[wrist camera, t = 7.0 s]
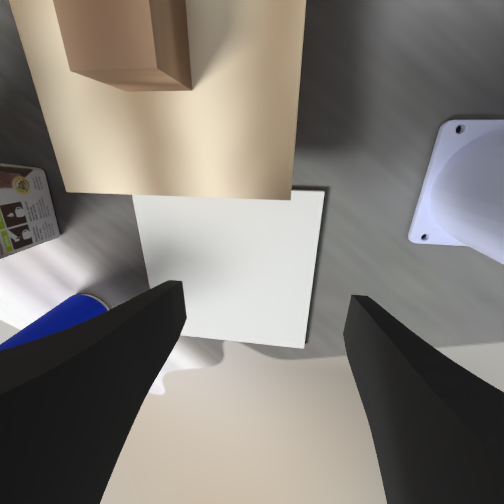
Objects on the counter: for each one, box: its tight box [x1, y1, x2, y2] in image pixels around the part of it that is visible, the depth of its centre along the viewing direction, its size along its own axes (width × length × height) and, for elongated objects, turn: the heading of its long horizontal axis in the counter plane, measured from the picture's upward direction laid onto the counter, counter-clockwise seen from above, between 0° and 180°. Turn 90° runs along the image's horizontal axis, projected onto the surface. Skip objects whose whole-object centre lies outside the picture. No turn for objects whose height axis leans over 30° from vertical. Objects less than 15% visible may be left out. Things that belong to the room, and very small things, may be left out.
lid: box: [9, 0, 306, 200], centre depth 10 cm, size 14×14×4 cm
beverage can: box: [0, 294, 110, 351], centre depth 19 cm, size 5×5×15 cm
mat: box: [132, 190, 325, 349], centre depth 21 cm, size 15×15×1 cm
